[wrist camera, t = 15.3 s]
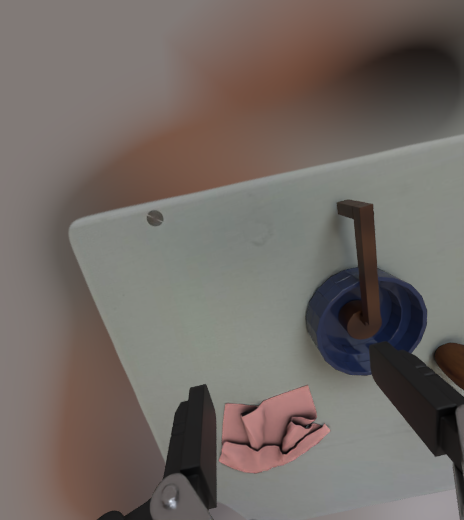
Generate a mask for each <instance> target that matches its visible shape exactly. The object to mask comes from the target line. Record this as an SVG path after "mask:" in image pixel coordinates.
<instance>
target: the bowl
mask: <svg viewBox="0 0 464 520" xmlns="http://www.w3.org/2000/svg"><path fill="white" fill-rule="evenodd" d="M377 272H378V287H379V302H380V315H381V318H382V325H381V327H380V329H379V331H378V332H377V333H376V334H375V335H373V336H372V337H370V338H367V339H362V340H359V339H355V338H353V337H351V336H350V335H349V334H348V332H347V331H346V330H345V329H344V328H343V326H342V325H341V324H340V322H339V318H338V316H339V312H340V310H341V308H342V307H343V306H344V305H345V304H347V303H348V302H350V301H354V300H361V291H360V281H359V270H358V267H356V268H351V269H347V270H343V271H341V272H339V273H338V274H336V275H334V276H332V277H330V278H329V279H328V280H327V281H326V282H324V283H323V284H322V285H321V286H320V287H319V288H318V289H317V290H316V292H315V294H314V295H313V297H312V299H311V301H310V302H309V306H308V310H307V315H306V322H307V329H308V333H309V334H310V336H311V338H312V340H313V342H314V343H315V345H316V347H317V348H318V350H319V352H320V353H321V355H322V356H323V358H324V360H325V361H326V362H327V363H329V364H330V365H331V366H332V367H333V368H335V369H336V370H338V371H341V372H344V373H347V374H349V375H363V376H367V375H371V374H372V373H371V368H370V355H369V346H370V345H372V344H376V343H380V342H384V341H387V342H389V343H390V344H391V345H392V346H393V347H394V348H396V349H397V350H398V351H399V350H405V351H407V352H409V353H412V352H413V351H414V349H415V348H416V347H417V345H418V344H419V343H420V341H421V339H422V337H423V334H424V331H425V329H426V325H427V309H426V306H425V303H424V300H423V298H422V296H421V295H420V293H419V292H418V291H417V290H416V289H415V288H414V287H413V286H412V285H411V284H409V283H407V282H405V281H403V280H401V279H399V278H397V277H395V276H393V275H391V274H389V273H387V272H385V271H382V270H380V269H378V268H377Z"/></svg>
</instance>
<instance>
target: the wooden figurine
mask: <svg viewBox="0 0 464 520" xmlns="http://www.w3.org/2000/svg"><path fill="white" fill-rule="evenodd" d="M435 360H436V362H437V364H438V366H439V367H440V369H441V370H442V371H443V372H444V373H445V374H446V375H447V376H448V377H449V378H450V379H451V380H452V381H453V382H454V383H455V384H456V385H458V386H459V387H460V388H462V389H463V390H464V345H461V344H457V343H447V344H444V345H442V346H440V347H439V348H438V349H437V350H436V353H435Z"/></svg>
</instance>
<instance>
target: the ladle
mask: <svg viewBox="0 0 464 520" xmlns="http://www.w3.org/2000/svg"><path fill="white" fill-rule="evenodd" d="M337 210H338V214H339V215H342V216H345V217H349V218H352V219H354V228H355V238H356V249H357V259H358V270H359V281H360V291H361V300H354V301H350V302H348V303H347V304H345V305H344V306H343V307H342V308H341V310H340V312H339V316H338V318H339V322H340V324H341V325H342V326H343V328H344V329H345V330H346V331H347V332H348V334H349V335H350V336H351V337H353V338H355V339H359V340H362V339H367V338H370V337H372V336H373V335H375V334H376V333H377V332H378V331H379V329H380V327H381V325H382V318H381V315H380V302H379V287H378V272H377V257H376V241H375V226H374V211H373V204H370V203H365V202H359V201H354V200H344V201H341V202H337Z"/></svg>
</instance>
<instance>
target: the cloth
mask: <svg viewBox="0 0 464 520" xmlns="http://www.w3.org/2000/svg"><path fill="white" fill-rule="evenodd" d="M316 418H317V413H316V409H315V406H314V402H313V399H312V396H311V393H310V390H309V387H308V385H306V386H304V387H301V388H298V389H295V390H292V391H289V392H286V393H283V394H281V395H278V396H275V397H272V398H270V399H267V400H265V401H263V402H262V403H261V404H260V406H255V405H243V404H228V403H226V404H225V412H224V421H223V435H222V445H223V447H222V454H221V457H220V459H219V461H220V462H221V463H223V464H225V465H227V466H229V467H231V468H233V469H236V470H239V471H242V472H247V473H259V472H262V471H265V470H269V469H271V468H272V467H276V466H281V465H284V464H286V463H288V462H290V461H293V460H295V459H296V458H297V457H299V456H300V455H301V454H303V453H305V452H306V451H308V450H309V449H310V448H311V447H313V446H314V445H316V444H317V443H319V442H320V441H321V440H322V439H323V437H324V436H325V435H327V434H328V433H329V432H330V429H329V428H328V427H327V426H326V425H325V424H324V425H323V426H321V425H318V424H311V426H310V427H309V428H308V429H305V427H306V426H307V425H308V424H310V423H311V422H313V421H315V419H316Z"/></svg>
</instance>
